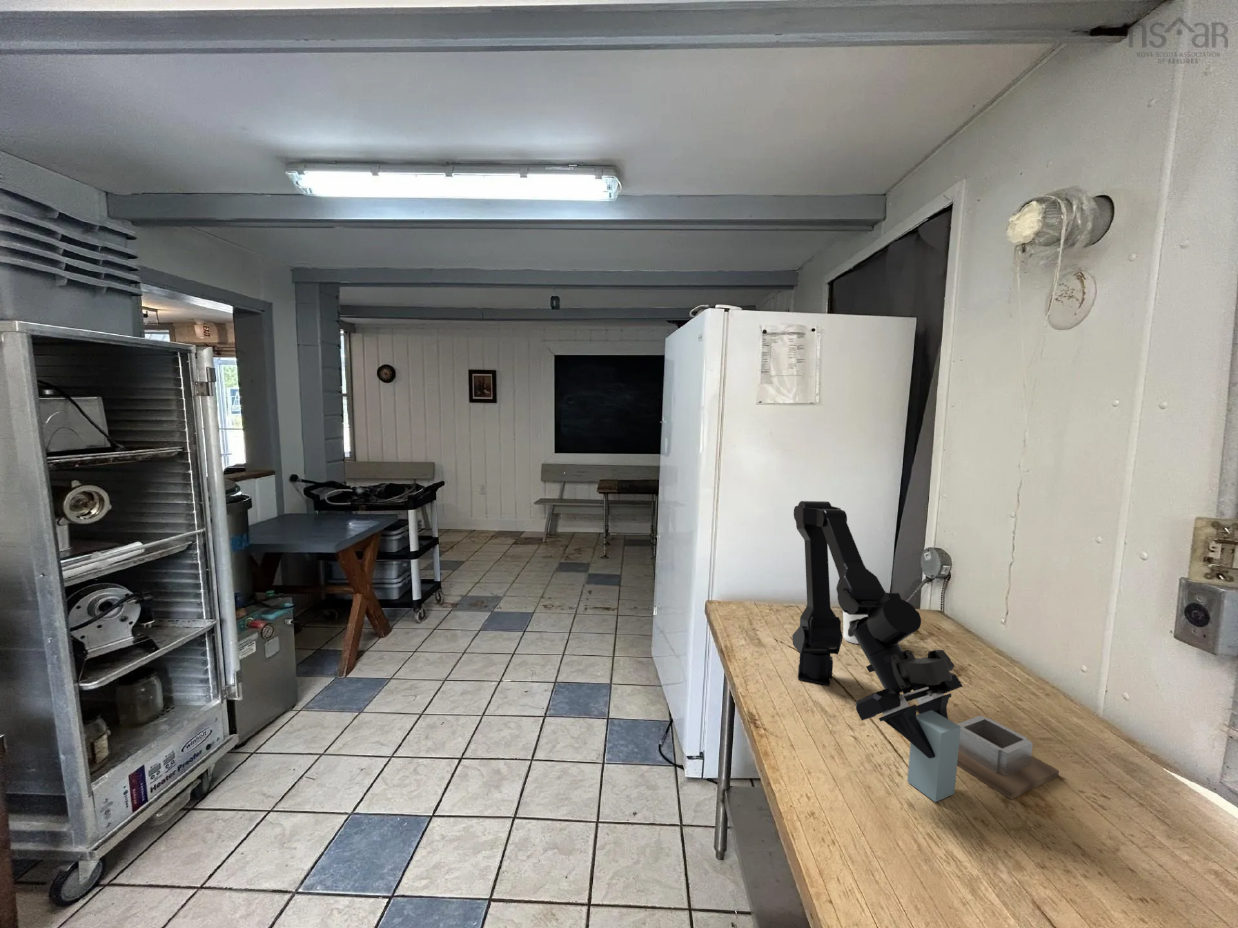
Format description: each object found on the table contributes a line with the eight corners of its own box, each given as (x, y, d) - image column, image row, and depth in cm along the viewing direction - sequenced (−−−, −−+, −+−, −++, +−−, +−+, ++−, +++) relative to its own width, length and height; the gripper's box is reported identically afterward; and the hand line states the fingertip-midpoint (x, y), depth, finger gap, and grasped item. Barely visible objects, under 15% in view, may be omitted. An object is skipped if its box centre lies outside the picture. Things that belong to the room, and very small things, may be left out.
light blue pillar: (935, 801, 74) (941, 733, 73) (907, 781, 78) (912, 716, 77) (954, 793, 76) (960, 726, 75) (926, 773, 80) (931, 709, 79)
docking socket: (1010, 799, 75) (1013, 768, 74) (928, 746, 87) (930, 720, 86) (1058, 775, 80) (1061, 747, 80) (974, 729, 92) (976, 704, 92)
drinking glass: (835, 634, 132) (838, 580, 131) (859, 634, 133) (862, 580, 131) (848, 646, 125) (852, 589, 124) (874, 645, 126) (877, 589, 124)
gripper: (876, 643, 75) (943, 758, 66) (955, 625, 82) (1025, 725, 73) (832, 668, 82) (886, 774, 73) (907, 649, 90) (965, 743, 81)
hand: (942, 753), depth 75 cm, fingers closed on light blue pillar, 4 cm apart
